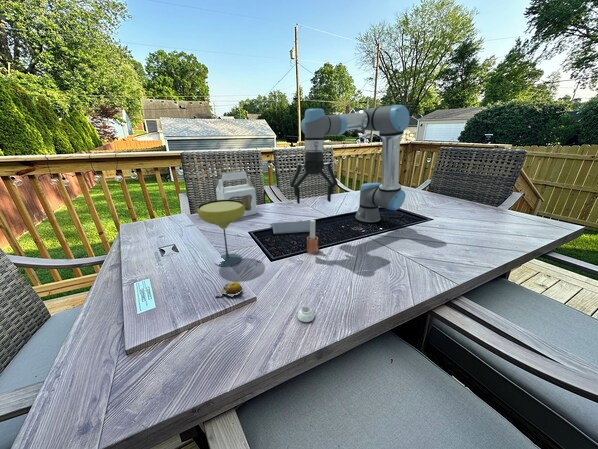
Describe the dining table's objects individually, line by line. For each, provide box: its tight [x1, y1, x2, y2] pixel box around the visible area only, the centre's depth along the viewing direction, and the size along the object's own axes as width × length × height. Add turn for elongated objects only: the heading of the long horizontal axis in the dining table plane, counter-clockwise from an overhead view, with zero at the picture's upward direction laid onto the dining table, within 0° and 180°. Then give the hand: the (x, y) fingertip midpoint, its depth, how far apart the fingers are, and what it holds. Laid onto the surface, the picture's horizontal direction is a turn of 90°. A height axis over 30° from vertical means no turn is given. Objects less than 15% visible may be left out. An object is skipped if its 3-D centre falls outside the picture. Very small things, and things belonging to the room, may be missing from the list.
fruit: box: [217, 281, 243, 299], centre depth 85 cm, size 8×8×4 cm
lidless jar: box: [297, 305, 315, 323], centre depth 74 cm, size 5×3×5 cm
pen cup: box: [306, 235, 319, 254], centre depth 113 cm, size 5×5×7 cm
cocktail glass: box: [197, 199, 245, 268], centre depth 103 cm, size 18×18×25 cm
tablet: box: [271, 220, 310, 236], centre depth 142 cm, size 23×17×1 cm
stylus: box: [309, 219, 316, 240], centre depth 112 cm, size 2×2×15 cm
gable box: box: [215, 171, 258, 218], centre depth 162 cm, size 22×13×28 cm, turn 127°
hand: (313, 202), depth 107 cm, fingers open, 13 cm apart
